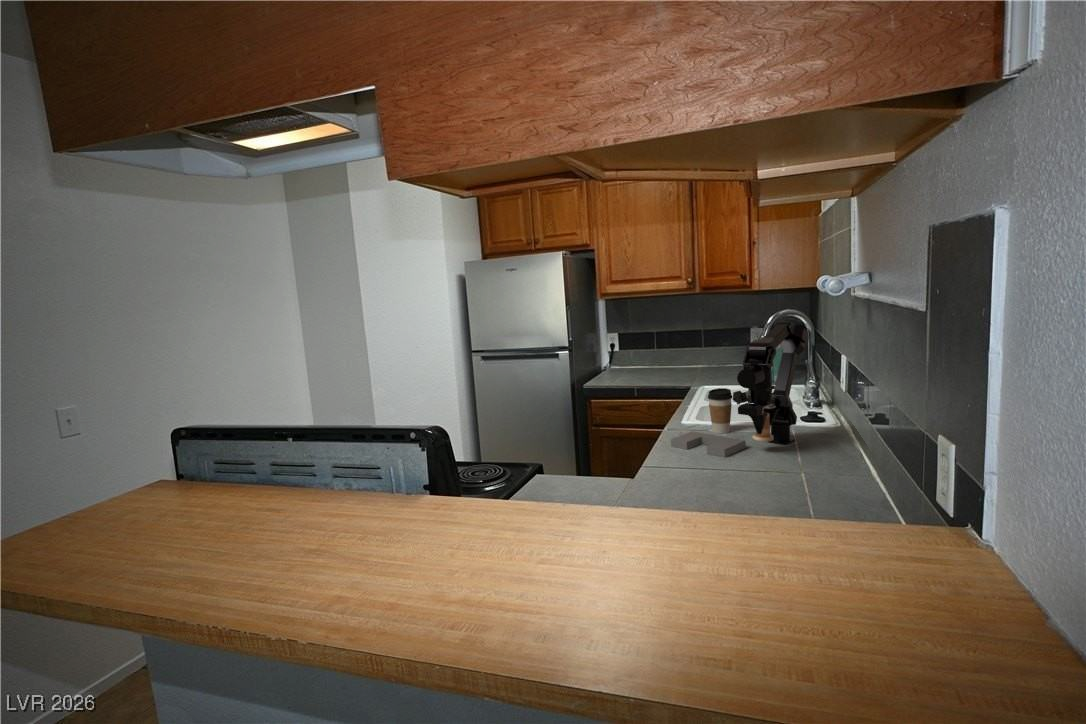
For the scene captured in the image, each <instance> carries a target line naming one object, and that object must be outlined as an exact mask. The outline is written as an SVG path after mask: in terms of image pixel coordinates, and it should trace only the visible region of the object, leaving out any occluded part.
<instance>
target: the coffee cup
mask: <svg viewBox="0 0 1086 724" xmlns="http://www.w3.org/2000/svg"><path fill="white" fill-rule="evenodd" d="M707 399H708V402H709V403H708V408H709V414H710V416H709V417H710V422H711V431H712V433H713V434H720V435H722V434H729V433H730V432H731V417H732V405H733V404H732V399H733V394H732V391H731V389H730V388H725V387H723V388H722V387H720V388H715V389H714V388H713V389H711V390H709V391H708V394H707Z"/></svg>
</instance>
